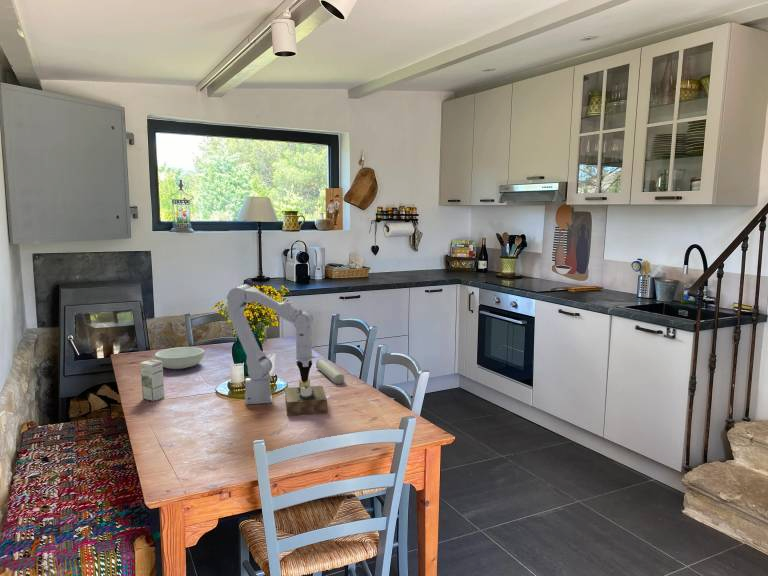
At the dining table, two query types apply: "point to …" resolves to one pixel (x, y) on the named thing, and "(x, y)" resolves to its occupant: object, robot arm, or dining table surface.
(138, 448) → the dining table surface
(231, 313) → the robot arm
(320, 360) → the tube
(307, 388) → the steel peg
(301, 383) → the brass peg
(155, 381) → the syrup box
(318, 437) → the dining table surface
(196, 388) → the dining table surface
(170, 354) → the serving bowl
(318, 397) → the brown flat block
